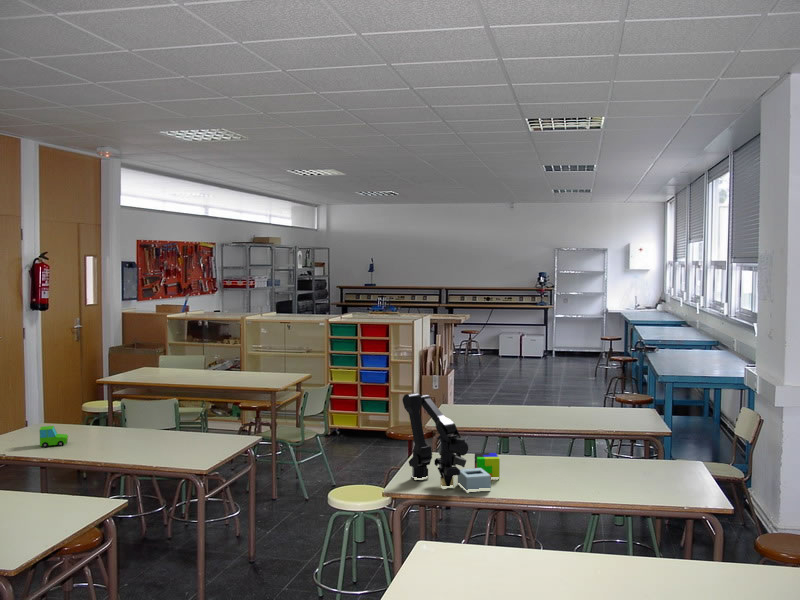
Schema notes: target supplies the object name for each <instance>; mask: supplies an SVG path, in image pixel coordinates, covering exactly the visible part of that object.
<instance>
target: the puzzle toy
mask: <svg viewBox="0 0 800 600" xmlns="http://www.w3.org/2000/svg"><path fill="white" fill-rule="evenodd" d="M500 461H501V460H500V457H499V455H498V454H497V453H496V452H475V453H474V468H482V469H483V470H484V471H486V472H487V473H488V474H489V475H491V477H499V478H500V472H501V471H500V466H501V464H500Z"/></svg>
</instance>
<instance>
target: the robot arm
mask: <svg viewBox="0 0 800 600" xmlns="http://www.w3.org/2000/svg"><path fill="white" fill-rule="evenodd" d="M402 404H403V408H404V409H405V411H406V412H407V414H408V415H409V416H408V417H409V420H410V425H411V426H410V427H411V431H412V432H411V433H412V436H413V437H412V438H413V442H414V447H413V449H412V457H411V458H410V460H408V465H409V467H411V468H412V470H411V473H412V475H411V476H413V477H417V478H422V477H426V476H428V477H429V468H428V466H429V465H431V462H432V459H433V455H434V454H433V451H432V447H431V445H428V444H427V443H426V439H425V434H424V429H423V423H422V418H421V413H420V412H421V408H423V409H424V410H425V412H426V413H427V414H428V415H429V417H430V418H431V419H432V420H433V422H434V423H435V430H436V431H437V433H438V434H439V435H438V437H436V438H437V440H439V441H440V451H439V452H438V454H439V455H440V457H437V458H435V459H434V465H435V466H436V467H437V466H438V467H437V470H438V473H439V475H440V477H441V476H443V477H444V480H445V483H446V486H450V483H451V480H452V477H453V476H458V475H460V470H459V468H458V467H457V466H459V467H460V466H461V467H462V468H465V466H466V463H467V459H465V457H462V456H466V455H467V454H468V451H469V445H468V443H467V442H466V440H465V439H464V438H462V436H461V434H460V432H459V431H458V428H457V426H456V424H455V422H454V421H452V419H450V418H449V417H446V416H445V415H444V414H443V413H442V412H441V410H440V409H439V408H438V406H437V405H436V404H435V403H434V402H433V400H432V399H431V395H429V394H419V393H417V392H412V393H407V394H404V395H403V396H402ZM453 478H454V477H453Z"/></svg>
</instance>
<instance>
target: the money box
mask: <svg viewBox="0 0 800 600" xmlns="http://www.w3.org/2000/svg"><path fill="white" fill-rule="evenodd" d="M458 469H459V468H458ZM459 470H460V475H457V484H458V483H460V484H461V485H462V486H463V487H464V488H465V489H466V490H468V489H479V488H491V489H492V486H491V484H492V483H491V482H492V480H491V475H489V474H488V473H487V472H486V471H484V470H483V469H482V468H475V467H473V468H462V469H461V468H460V469H459Z"/></svg>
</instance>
